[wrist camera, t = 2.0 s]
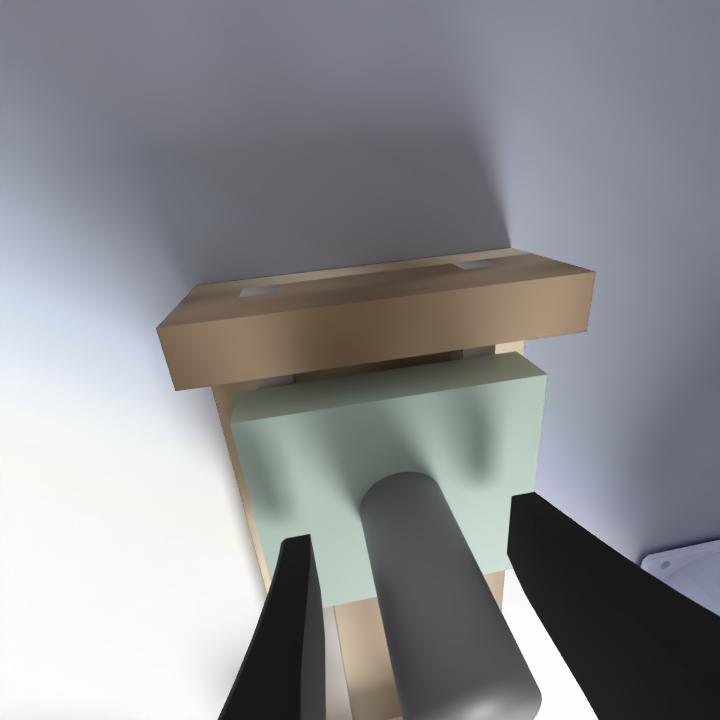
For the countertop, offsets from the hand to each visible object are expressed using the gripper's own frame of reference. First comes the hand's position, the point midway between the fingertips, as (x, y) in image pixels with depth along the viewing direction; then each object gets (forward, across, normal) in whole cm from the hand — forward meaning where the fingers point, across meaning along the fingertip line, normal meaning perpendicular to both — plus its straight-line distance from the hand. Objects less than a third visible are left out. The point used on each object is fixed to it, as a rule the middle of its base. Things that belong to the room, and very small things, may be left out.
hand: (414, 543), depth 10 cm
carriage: (+3, 0, 0) cm, 3 cm away
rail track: (+5, 0, +6) cm, 8 cm away
